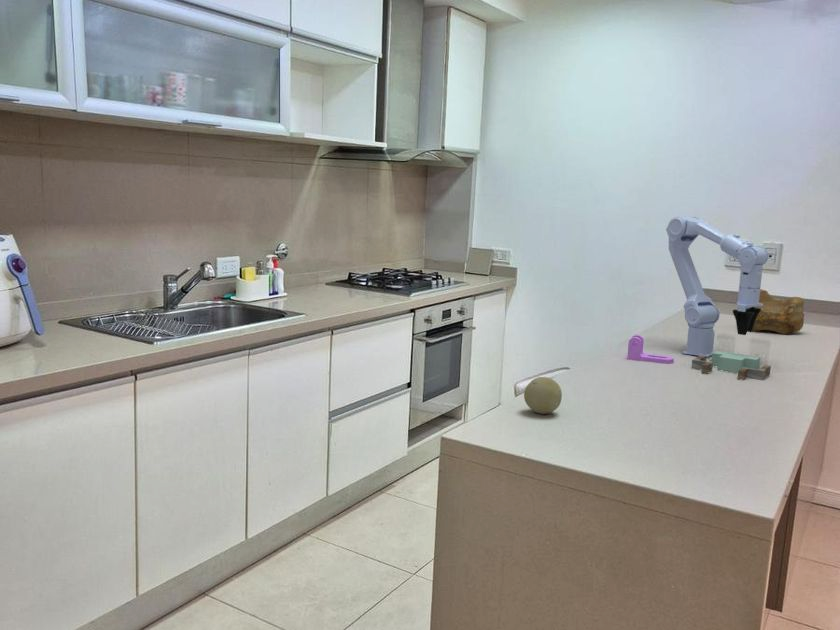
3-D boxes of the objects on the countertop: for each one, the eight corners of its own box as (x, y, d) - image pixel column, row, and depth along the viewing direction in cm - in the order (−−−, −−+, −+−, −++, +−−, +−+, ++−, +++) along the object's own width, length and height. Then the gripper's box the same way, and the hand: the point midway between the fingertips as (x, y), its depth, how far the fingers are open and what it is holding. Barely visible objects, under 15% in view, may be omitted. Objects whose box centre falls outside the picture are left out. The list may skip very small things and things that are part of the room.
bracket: (627, 359, 213) (629, 337, 212) (629, 356, 218) (631, 334, 217) (672, 365, 208) (674, 341, 207) (674, 361, 213) (676, 338, 212)
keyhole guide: (700, 363, 211) (701, 354, 210) (769, 374, 199) (770, 365, 199) (686, 370, 201) (687, 362, 200) (759, 382, 189) (760, 373, 189)
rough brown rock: (723, 329, 274) (727, 292, 270) (744, 322, 284) (748, 286, 280) (785, 342, 256) (789, 302, 253) (805, 334, 266) (809, 295, 263)
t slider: (715, 363, 211) (717, 350, 211) (758, 370, 204) (760, 357, 203) (706, 368, 204) (708, 355, 203) (751, 375, 197) (753, 361, 196)
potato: (535, 405, 162) (537, 371, 161) (566, 413, 157) (568, 378, 156) (517, 412, 156) (519, 377, 155) (549, 420, 151) (551, 384, 150)
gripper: (758, 291, 200) (753, 338, 202) (769, 287, 211) (764, 331, 213) (732, 288, 204) (727, 334, 206) (744, 284, 215) (739, 328, 217)
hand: (744, 333), depth 210 cm, fingers open, 6 cm apart
